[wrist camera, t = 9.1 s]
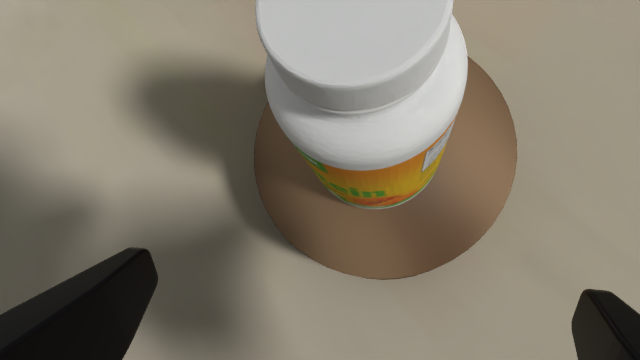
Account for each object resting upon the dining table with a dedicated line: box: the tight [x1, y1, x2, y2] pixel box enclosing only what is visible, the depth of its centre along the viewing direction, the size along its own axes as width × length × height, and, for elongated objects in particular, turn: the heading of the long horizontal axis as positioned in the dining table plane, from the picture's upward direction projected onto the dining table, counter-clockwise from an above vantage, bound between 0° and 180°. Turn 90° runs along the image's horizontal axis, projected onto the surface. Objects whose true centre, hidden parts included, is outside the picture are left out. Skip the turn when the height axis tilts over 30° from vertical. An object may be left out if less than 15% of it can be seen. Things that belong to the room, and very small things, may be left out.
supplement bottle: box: [255, 0, 468, 209], centre depth 13 cm, size 5×5×10 cm
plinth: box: [254, 56, 517, 280], centre depth 19 cm, size 11×11×3 cm
